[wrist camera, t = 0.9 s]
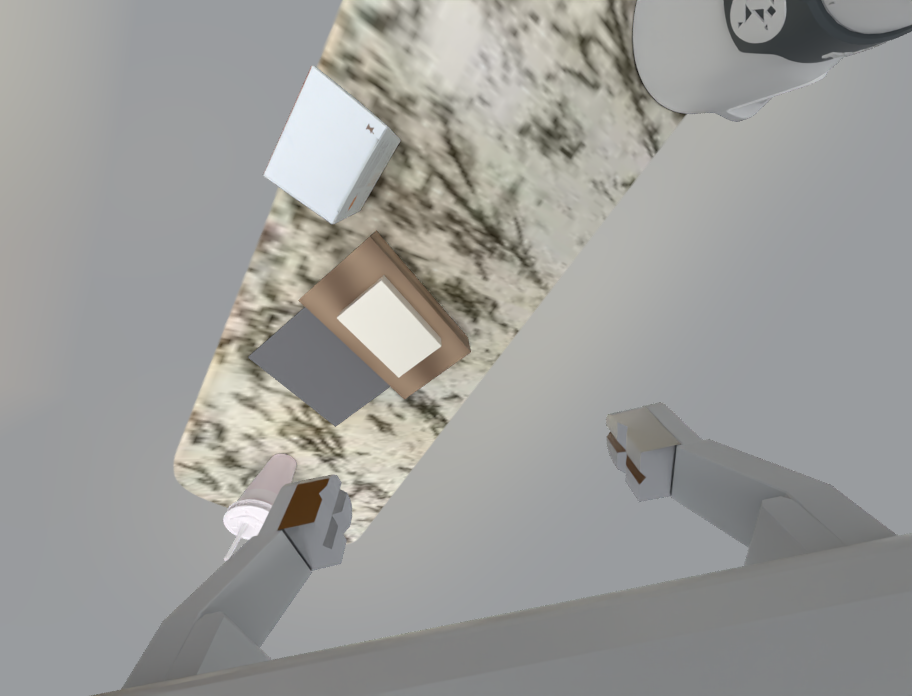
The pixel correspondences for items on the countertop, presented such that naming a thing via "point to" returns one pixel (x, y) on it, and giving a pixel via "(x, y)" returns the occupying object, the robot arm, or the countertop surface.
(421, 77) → the countertop surface
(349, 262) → the brown wooden block
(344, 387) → the mat
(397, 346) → the tile
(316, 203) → the small box
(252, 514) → the smoothie
